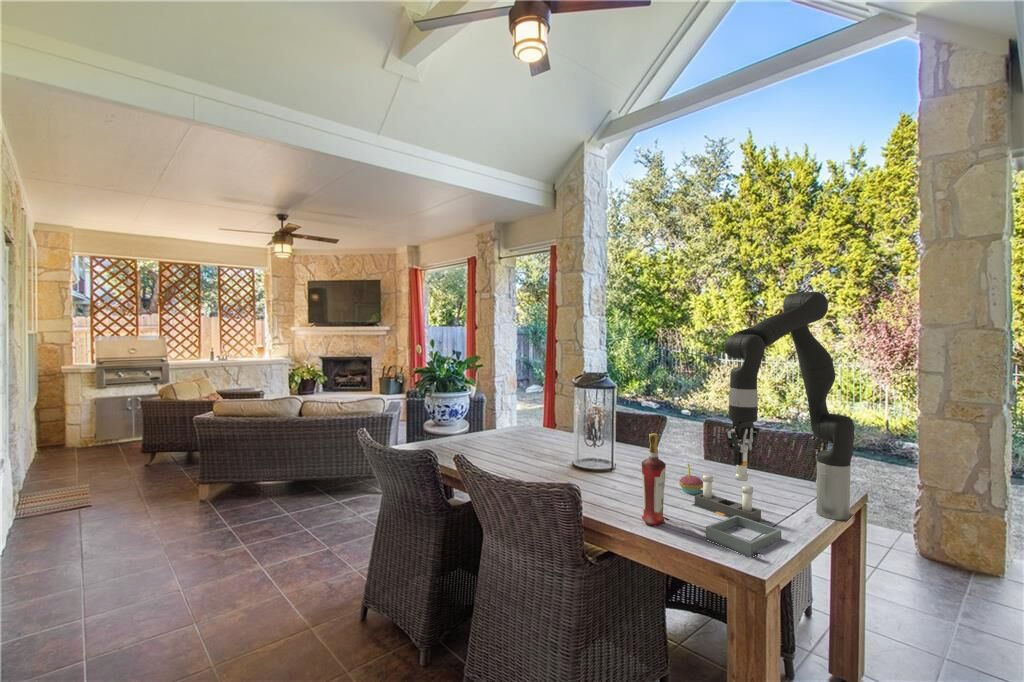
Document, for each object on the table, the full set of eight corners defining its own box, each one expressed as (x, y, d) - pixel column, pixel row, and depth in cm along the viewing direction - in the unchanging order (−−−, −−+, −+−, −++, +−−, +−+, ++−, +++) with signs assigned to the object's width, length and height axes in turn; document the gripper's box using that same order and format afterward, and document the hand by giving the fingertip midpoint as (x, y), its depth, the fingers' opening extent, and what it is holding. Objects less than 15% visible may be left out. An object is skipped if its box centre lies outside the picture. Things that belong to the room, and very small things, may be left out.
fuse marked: (739, 477, 144) (740, 443, 144) (749, 480, 142) (750, 445, 142) (733, 479, 143) (733, 444, 142) (743, 481, 140) (744, 446, 140)
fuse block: (705, 504, 172) (705, 491, 172) (764, 524, 155) (764, 509, 155) (690, 509, 168) (691, 496, 168) (750, 530, 150) (750, 515, 150)
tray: (736, 528, 152) (736, 515, 152) (781, 544, 141) (781, 530, 140) (705, 540, 143) (705, 526, 143) (750, 558, 132) (751, 543, 132)
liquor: (646, 516, 161) (647, 431, 160) (668, 522, 156) (669, 434, 156) (637, 523, 155) (637, 434, 155) (659, 529, 151) (660, 438, 150)
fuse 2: (745, 515, 158) (745, 484, 157) (754, 519, 155) (755, 487, 155) (739, 518, 156) (739, 486, 156) (749, 521, 153) (749, 489, 153)
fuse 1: (706, 503, 169) (706, 474, 169) (714, 505, 167) (714, 476, 166) (700, 504, 167) (700, 475, 167) (708, 507, 165) (709, 478, 165)
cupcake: (674, 493, 184) (674, 461, 184) (692, 490, 187) (692, 458, 187) (690, 500, 176) (690, 467, 176) (709, 497, 179) (709, 464, 179)
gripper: (741, 407, 135) (740, 470, 135) (769, 403, 142) (768, 463, 143) (716, 404, 141) (715, 464, 141) (744, 400, 149) (743, 457, 149)
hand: (741, 463), depth 142 cm, fingers closed on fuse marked, 3 cm apart
